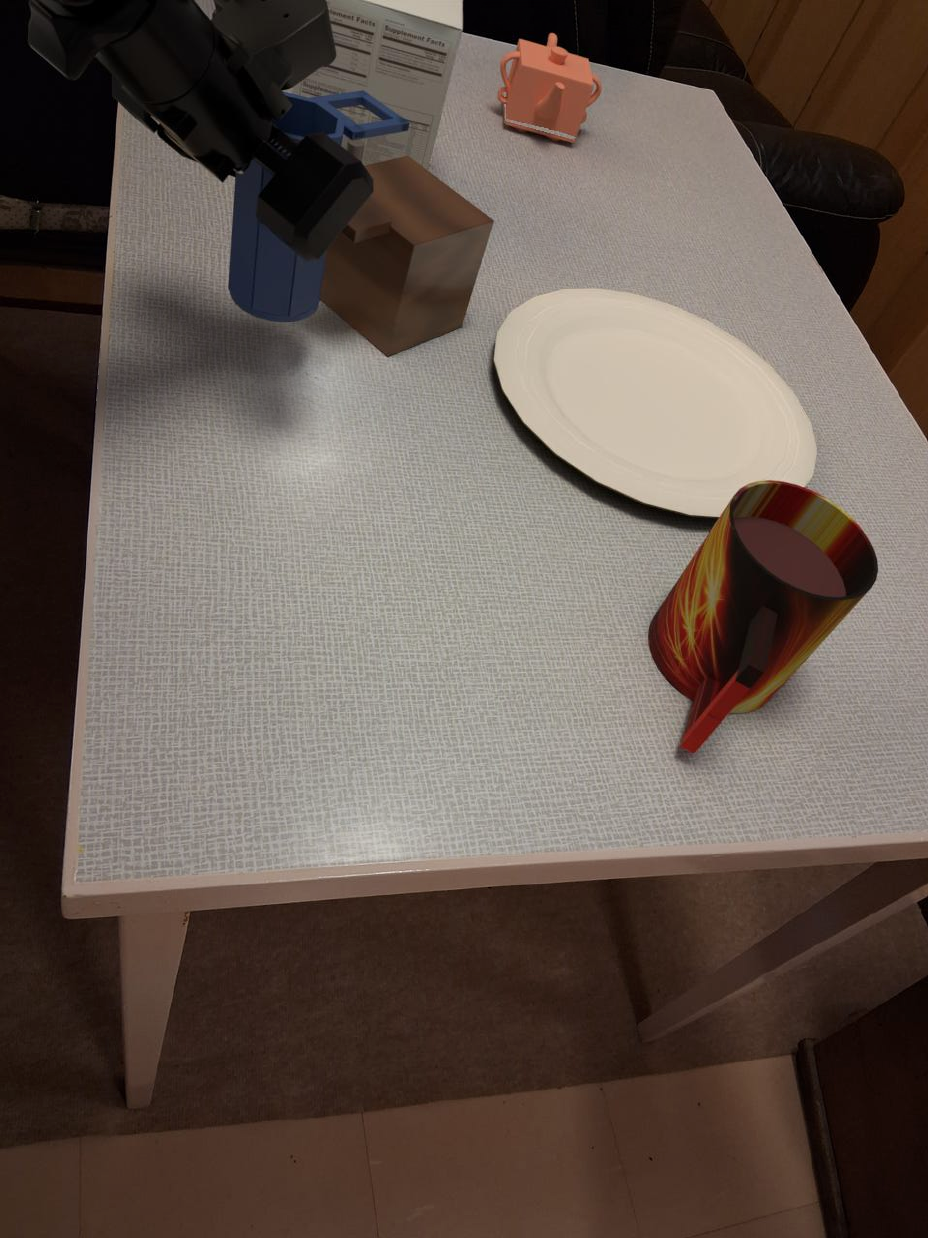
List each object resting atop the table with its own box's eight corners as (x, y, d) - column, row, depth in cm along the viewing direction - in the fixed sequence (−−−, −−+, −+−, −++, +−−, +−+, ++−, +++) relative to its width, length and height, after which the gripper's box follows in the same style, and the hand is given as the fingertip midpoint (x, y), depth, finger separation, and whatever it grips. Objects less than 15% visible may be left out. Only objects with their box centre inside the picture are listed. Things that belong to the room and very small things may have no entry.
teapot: (579, 109, 118) (604, 37, 111) (589, 168, 108) (617, 93, 102) (486, 83, 115) (506, 7, 109) (488, 141, 106) (510, 62, 100)
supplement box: (417, 226, 91) (465, 29, 78) (277, 192, 88) (302, -19, 75) (421, 159, 99) (464, -29, 86) (293, 126, 97) (318, -74, 83)
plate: (520, 266, 91) (527, 248, 90) (803, 371, 93) (813, 355, 92) (453, 453, 72) (460, 434, 71) (811, 581, 74) (824, 565, 72)
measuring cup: (266, 331, 67) (285, 145, 58) (211, 283, 69) (220, 96, 60) (384, 295, 74) (419, 123, 64) (331, 252, 76) (356, 79, 66)
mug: (673, 763, 60) (768, 649, 51) (637, 592, 68) (713, 469, 59) (810, 775, 62) (925, 669, 53) (758, 608, 70) (850, 492, 61)
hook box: (354, 370, 75) (394, 182, 64) (273, 299, 78) (296, 107, 66) (462, 326, 83) (515, 151, 71) (384, 263, 86) (423, 85, 74)
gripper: (383, 13, 48) (471, 185, 62) (156, -146, 53) (287, 47, 68) (241, 191, 49) (361, 318, 64) (34, 18, 54) (188, 172, 69)
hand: (299, 207), depth 66 cm, fingers closed on measuring cup, 6 cm apart
